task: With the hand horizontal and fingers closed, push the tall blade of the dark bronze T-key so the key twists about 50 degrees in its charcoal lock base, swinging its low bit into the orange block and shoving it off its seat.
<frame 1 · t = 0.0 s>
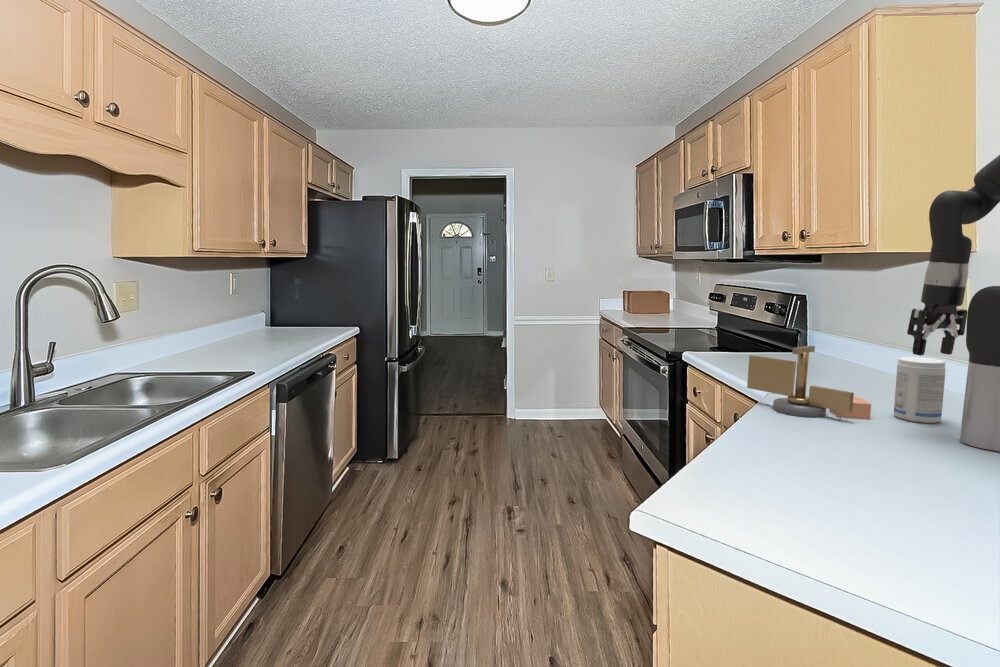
hand: (932, 354, 131), 17 cm above the counter, tool pointing down, fingers open, 8 cm apart
orange block: (848, 415, 145), on the counter
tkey: (797, 374, 147), point 9 cm above the counter, hinge at 0.0°
lock base: (799, 411, 147), on the counter
supplement tub: (916, 419, 142), on the counter
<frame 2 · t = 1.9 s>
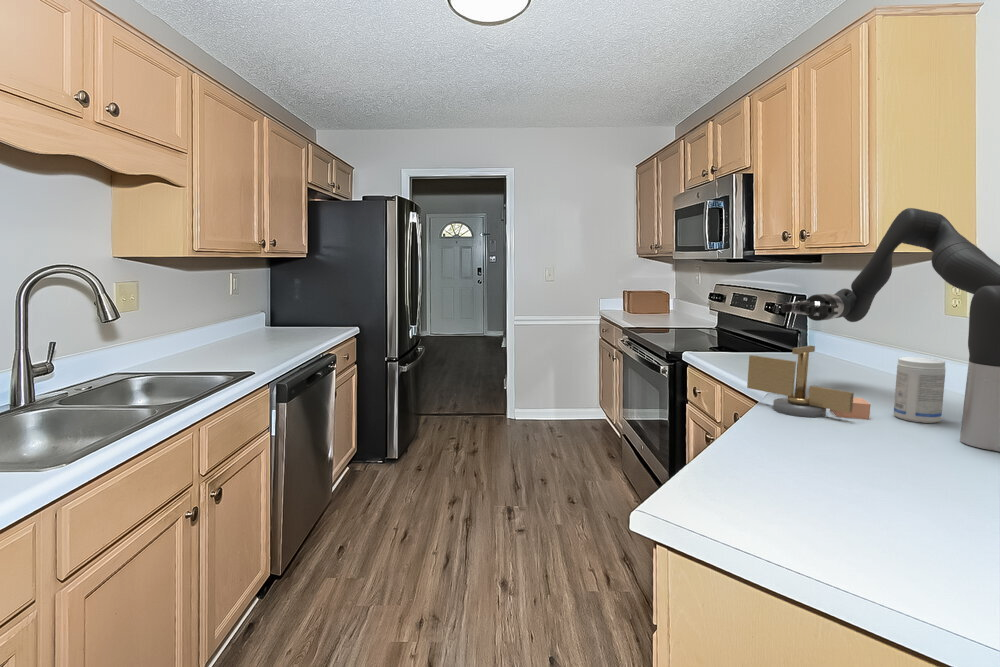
hand: (795, 309, 157), 25 cm above the counter, tool horizontal, fingers open, 6 cm apart
nothing on the counter moved.
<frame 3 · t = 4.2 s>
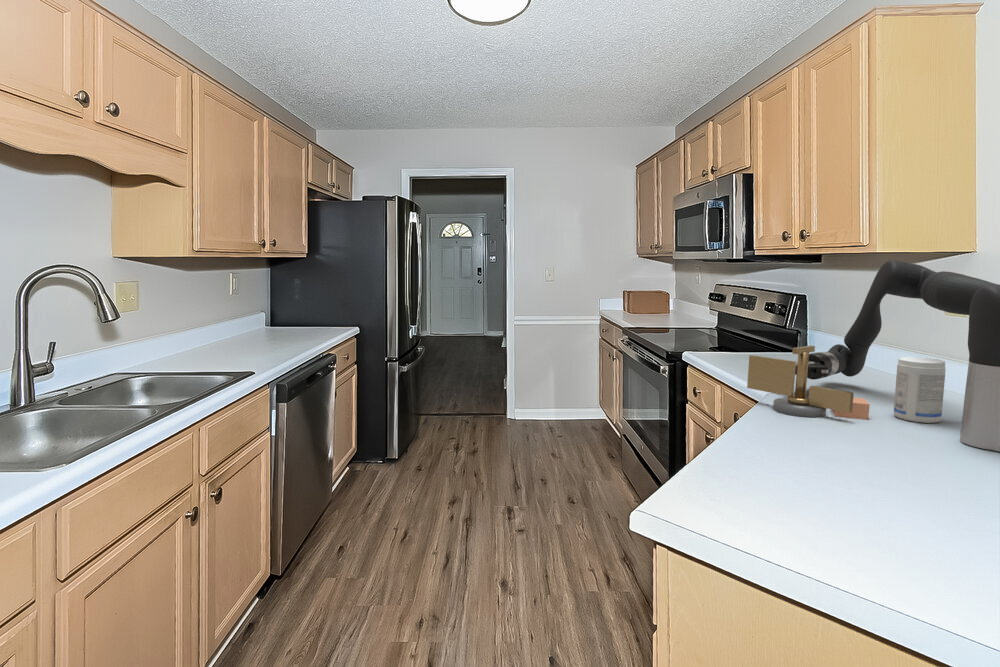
hand: (789, 371, 159), 8 cm above the counter, tool horizontal, fingers closed
nothing on the counter moved.
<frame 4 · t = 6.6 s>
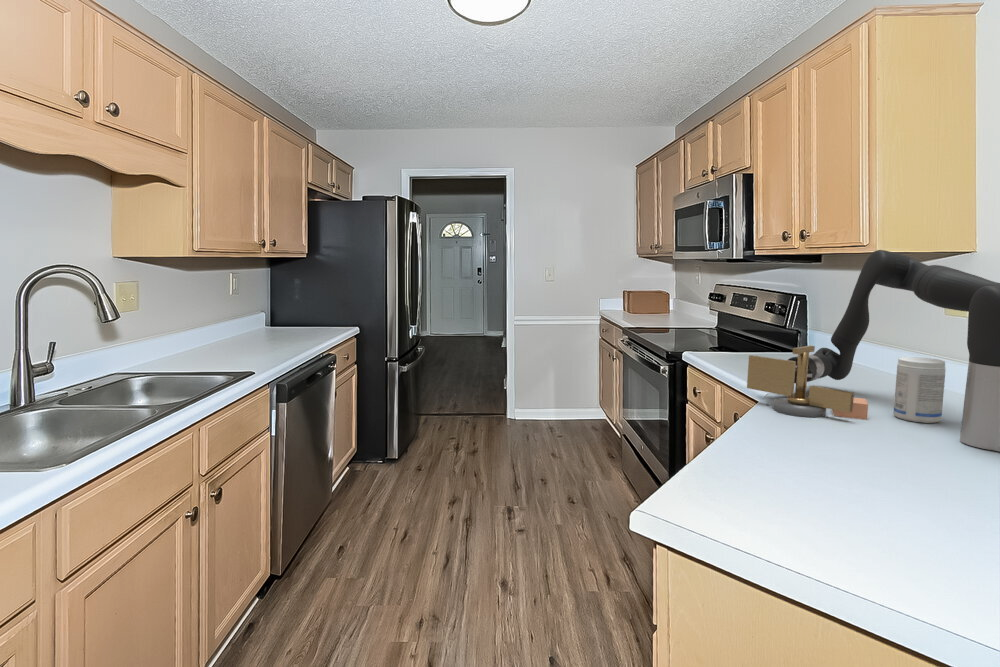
hand: (771, 375, 153), 8 cm above the counter, tool horizontal, fingers closed
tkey: (797, 374, 147), point 9 cm above the counter, hinge at 0.8°, touching gripper
everything else where it was.
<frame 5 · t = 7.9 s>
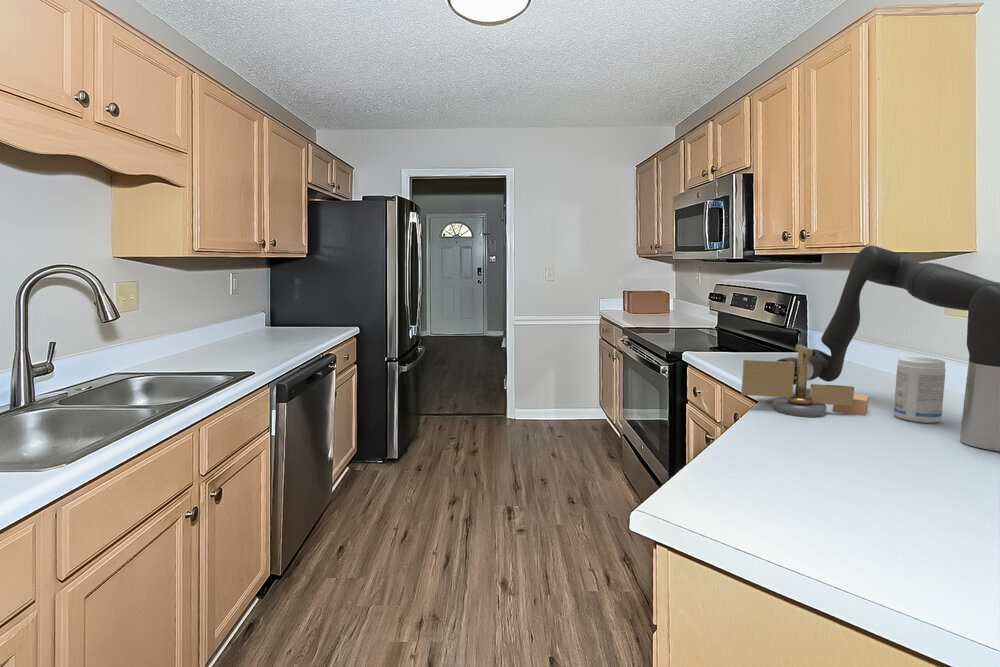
hand: (758, 377, 149), 8 cm above the counter, tool horizontal, fingers closed
orange block: (850, 411, 149), on the counter
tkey: (797, 374, 146), point 9 cm above the counter, hinge at 42.2°, touching gripper
everything else where it was.
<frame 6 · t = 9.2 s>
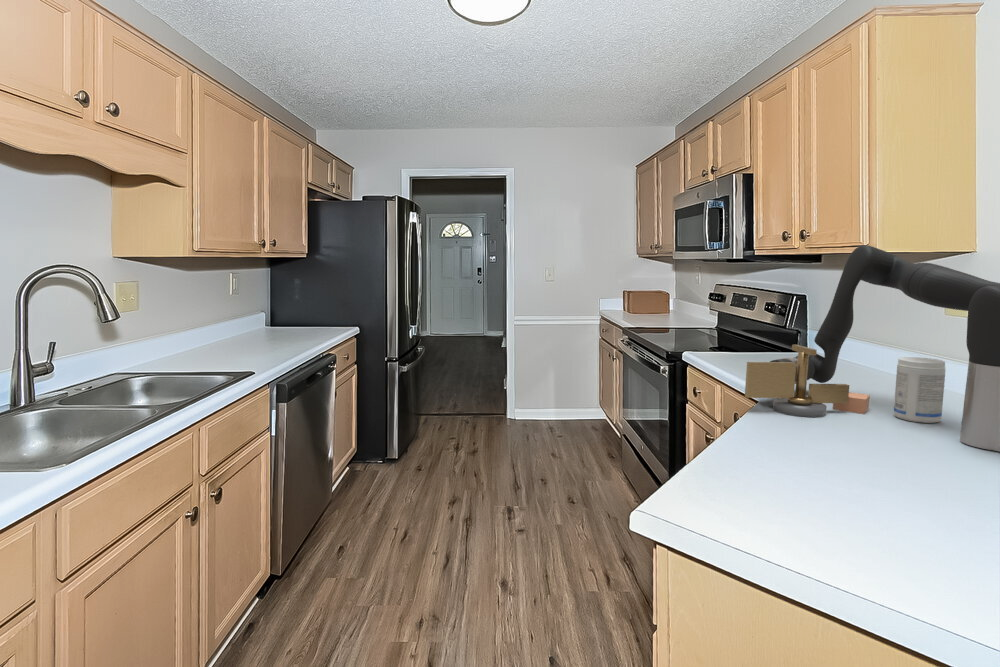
hand: (750, 379, 147), 8 cm above the counter, tool horizontal, fingers closed
orange block: (850, 410, 150), on the counter
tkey: (797, 374, 146), point 9 cm above the counter, hinge at 54.9°, touching gripper
everything else where it was.
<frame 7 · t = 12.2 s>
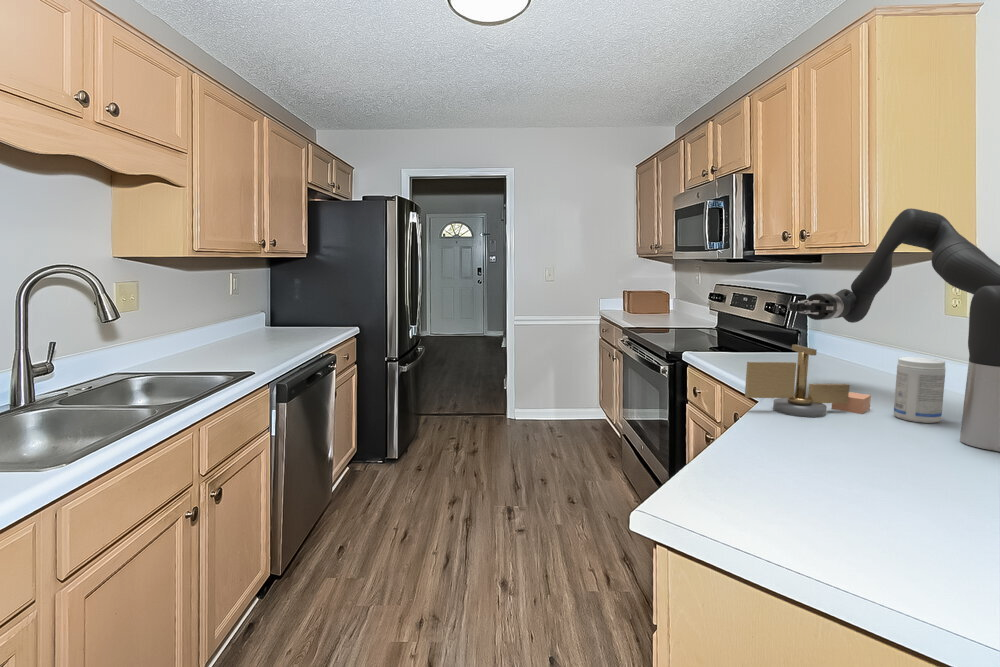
hand: (794, 307, 157), 26 cm above the counter, tool horizontal, fingers closed
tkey: (797, 374, 146), point 9 cm above the counter, hinge at 55.1°
everything else where it was.
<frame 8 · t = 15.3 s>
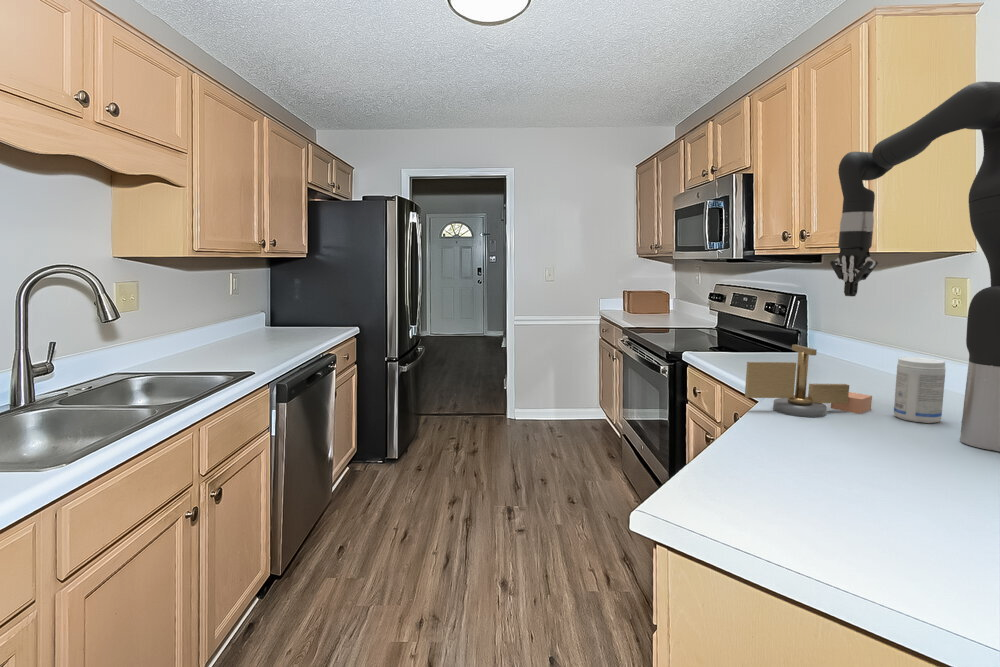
hand: (850, 296, 154), 29 cm above the counter, tool pointing down, fingers closed
nothing on the counter moved.
at the end: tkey at +55° (first picture: +0°); orange block moved 6.9 cm from its start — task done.
